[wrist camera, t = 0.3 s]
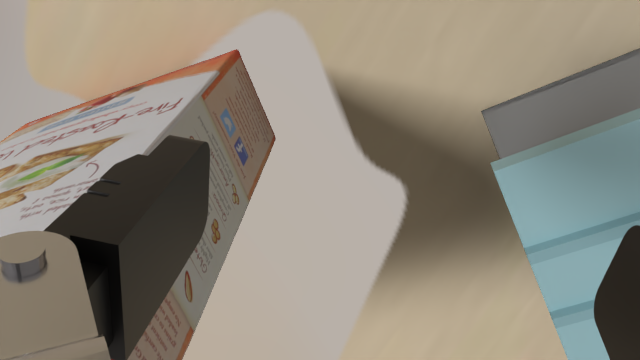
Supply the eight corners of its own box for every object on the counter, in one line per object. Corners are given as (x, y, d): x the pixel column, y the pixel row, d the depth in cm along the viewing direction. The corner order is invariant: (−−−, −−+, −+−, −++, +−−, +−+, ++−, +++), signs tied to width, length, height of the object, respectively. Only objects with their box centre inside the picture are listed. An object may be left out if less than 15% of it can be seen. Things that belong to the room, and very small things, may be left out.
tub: (481, 111, 29) (505, 168, 24) (685, 30, 26) (769, 72, 21) (554, 300, 35) (588, 383, 29) (730, 250, 32) (805, 332, 26)
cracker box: (236, 38, 29) (-14, 327, 10) (280, 139, 31) (140, 512, 13) (19, 116, 32) (-453, 435, 14) (75, 201, 35) (-262, 564, 16)
